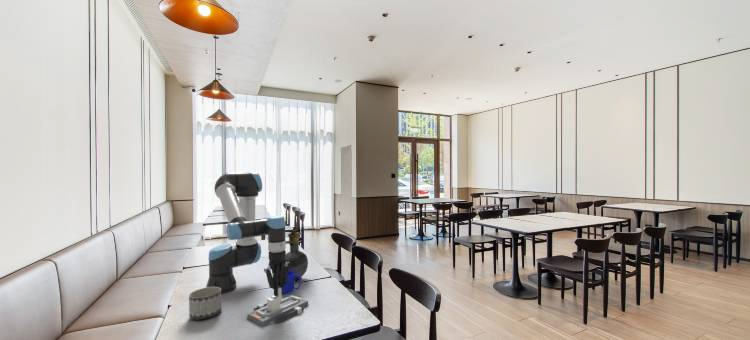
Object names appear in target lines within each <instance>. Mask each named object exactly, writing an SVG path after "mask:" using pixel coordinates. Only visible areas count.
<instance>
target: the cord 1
mask: <svg viewBox="0 0 750 340" xmlns="http://www.w3.org/2000/svg"><path fill="white" fill-rule="evenodd" d="M265 306H267V302H265V303H264V304H263V303H259V304H257V305H256V307H255V308H254V309H253V311H255V310H258V309H260V308H262V307H265Z"/></svg>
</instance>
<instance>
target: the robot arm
mask: <svg viewBox="0 0 750 340" xmlns="http://www.w3.org/2000/svg"><path fill="white" fill-rule="evenodd" d="M262 190H263V181H262V177H261V175H260V174H259V173H258V172H256V171H237V172H236V171H235V172H234V171H233V172H232V171H231V172H230V171H229V172H226V173H224V174H221V176H220V177H219V178H218V179H216V182H215V184H214V194H215V196H216V197H217V198H219V201H220V203H221V206H222V209H223V211H224V215H225V216H226V219H227V222H228V223H227V225H226V228H225V234H226V237H227V239H228V240H230V241H235V240H237V241H236V242H235V245H234V246H233V245H232V243H231V244H222V245H217V246H215V247H213V248H211V249H210V250H209V252H208V273H209V274H208V280H207V283H206V286H205V288H206V287H219V288H221V294H225V293H226V294H227V293H228V292H231V291H233V290H236V288H237V280H236V278H235V275H234V271H233V269H234V268H238V267H243V266H244V267H245V266H249V265H250V266H251V265H252V264H257V263H258V262H259V260H260V259H261V255H262V245H261V243H260V242H258V240H257V238H256V237H259V236H261V237H262V236H268V237H267V239H268V241H267V243H268V245H267V246H268V247H267V248H268V249H267V250H268V266H267V267H266V268H264V269H263V271H264V273H265V274H266V275H265V276H266V278H267V283H268V286H269V287H268V288H270V289H272V290H273V296H277V297H280V303H281V302H282V299H283V298H282V297H283V295H282V294H284V293H283V287H284V286H283V285H285V284H286V283H287V276H288V270H289V267H290V264H291V263H289V262H286V259H285V258H286V254H287V251H286V246H287V244H286V243H285V241H286V220H285V219H286V218H285V217H284V216H282V215H274V216H268V217H263V218H261V219H256V199H257V197H258V196H259V193H260V192H262ZM283 267H284V268H283Z"/></svg>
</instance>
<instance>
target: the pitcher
mask: <svg viewBox="0 0 750 340" xmlns="http://www.w3.org/2000/svg"><path fill="white" fill-rule="evenodd" d="M301 235H302V231H301V232H299V231H297V230H296V229H293V230H290V231H289V232H288V235H287V237H288V240H285V243H286V245H287V244H289V251H288V252H286V258H285V259H286V262H289V263H291V264H290V267H289V270H288V271H294V272H295V275H301V280H302V279H303V276H304V275H305V274H306V272H307V271H308V264H309V261H308V256H307V254H306V253H305V252H302V251H301V250H300V249H299V246H300V245H299V244H300V240H299V239H300V236H301ZM283 268H284V267H283ZM294 283H299V277H298V276H295V281H294Z"/></svg>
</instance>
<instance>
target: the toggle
mask: <svg viewBox="0 0 750 340" xmlns="http://www.w3.org/2000/svg"><path fill="white" fill-rule="evenodd" d="M266 303H267V310H269V311H271V312H272V311H274V310H277V309H279V308H280V297H277V296H274V295H272V296H270V297H267V298H266Z"/></svg>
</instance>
